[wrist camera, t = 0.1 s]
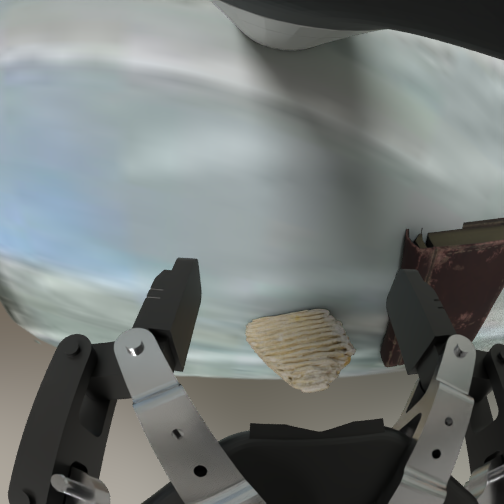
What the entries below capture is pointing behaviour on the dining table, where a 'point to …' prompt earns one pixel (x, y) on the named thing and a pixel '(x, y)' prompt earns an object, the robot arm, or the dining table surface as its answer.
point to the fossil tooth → (302, 347)
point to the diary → (456, 276)
